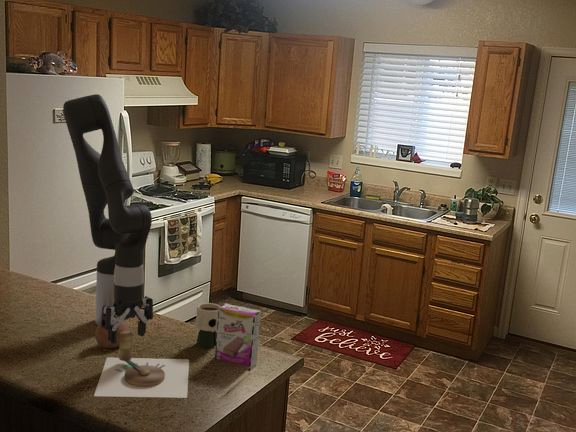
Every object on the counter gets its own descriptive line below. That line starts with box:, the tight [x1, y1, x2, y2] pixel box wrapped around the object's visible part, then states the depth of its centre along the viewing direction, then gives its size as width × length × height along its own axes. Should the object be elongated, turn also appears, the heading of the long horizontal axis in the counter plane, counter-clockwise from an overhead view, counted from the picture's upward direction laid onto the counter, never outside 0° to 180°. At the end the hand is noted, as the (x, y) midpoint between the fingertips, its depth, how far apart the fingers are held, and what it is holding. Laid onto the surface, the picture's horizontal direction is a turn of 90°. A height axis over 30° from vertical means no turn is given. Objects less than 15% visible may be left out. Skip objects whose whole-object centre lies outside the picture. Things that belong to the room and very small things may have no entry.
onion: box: [94, 321, 130, 349], centre depth 183 cm, size 10×9×10 cm
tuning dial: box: [118, 330, 165, 387], centre depth 165 cm, size 17×10×8 cm, turn 43°
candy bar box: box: [214, 303, 262, 371], centre depth 179 cm, size 11×5×16 cm, turn 71°
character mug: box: [194, 302, 222, 349], centre depth 188 cm, size 11×7×13 cm, turn 147°
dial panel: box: [93, 357, 190, 399], centre depth 165 cm, size 22×22×2 cm
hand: (127, 339), depth 170 cm, fingers open, 8 cm apart
